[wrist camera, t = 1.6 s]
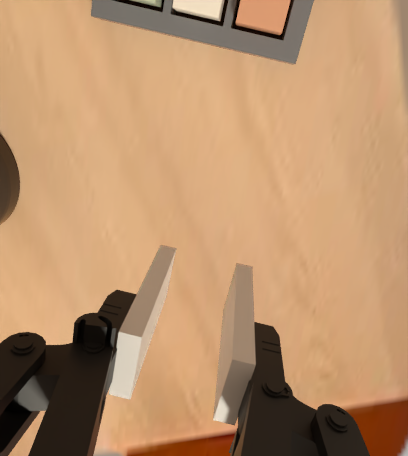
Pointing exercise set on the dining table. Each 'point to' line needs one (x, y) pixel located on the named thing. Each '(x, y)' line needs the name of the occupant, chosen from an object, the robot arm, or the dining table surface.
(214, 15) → the cream key
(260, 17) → the peach key
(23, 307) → the dining table surface
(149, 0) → the sage key
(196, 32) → the keyguard
